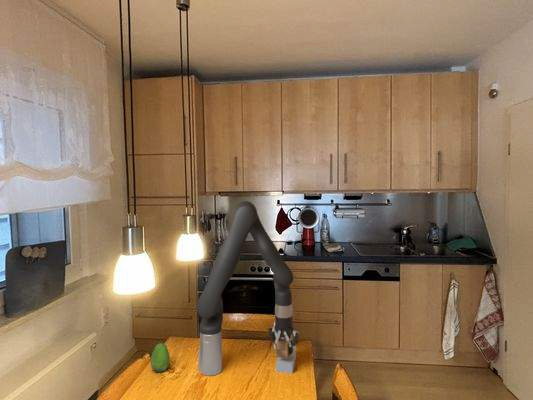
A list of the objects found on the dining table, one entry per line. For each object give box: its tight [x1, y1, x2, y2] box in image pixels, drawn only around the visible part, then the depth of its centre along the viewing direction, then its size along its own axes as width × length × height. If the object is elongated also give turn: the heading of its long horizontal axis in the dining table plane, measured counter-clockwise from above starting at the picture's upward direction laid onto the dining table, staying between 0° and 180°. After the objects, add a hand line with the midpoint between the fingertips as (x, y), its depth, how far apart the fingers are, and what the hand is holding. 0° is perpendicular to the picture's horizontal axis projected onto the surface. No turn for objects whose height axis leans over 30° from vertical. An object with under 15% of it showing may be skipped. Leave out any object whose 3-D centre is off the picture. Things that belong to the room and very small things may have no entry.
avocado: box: [150, 342, 171, 373], centre depth 149 cm, size 8×8×12 cm
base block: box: [275, 356, 296, 374], centre depth 150 cm, size 7×7×4 cm
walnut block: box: [275, 338, 290, 359], centre depth 149 cm, size 5×5×6 cm
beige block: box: [290, 344, 297, 360], centre depth 158 cm, size 5×5×6 cm
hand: (284, 352), depth 150 cm, fingers closed on walnut block, 5 cm apart
